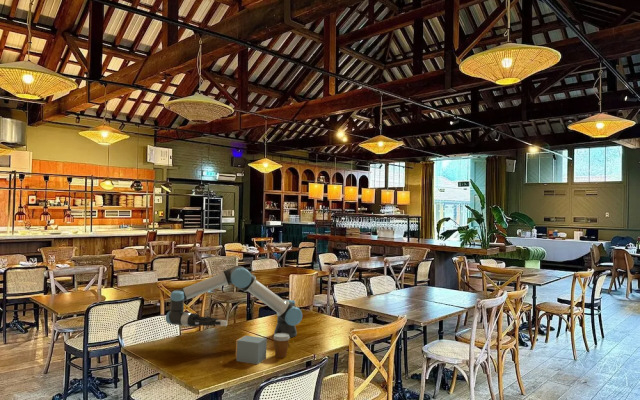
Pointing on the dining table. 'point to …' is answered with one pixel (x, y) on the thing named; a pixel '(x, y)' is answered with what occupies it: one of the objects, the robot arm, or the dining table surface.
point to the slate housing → (251, 349)
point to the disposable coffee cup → (281, 344)
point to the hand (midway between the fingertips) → (226, 323)
